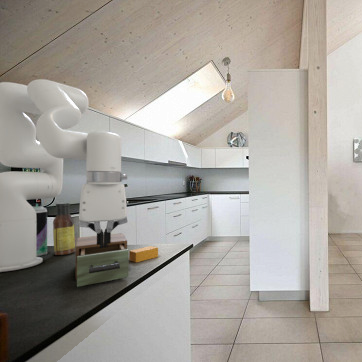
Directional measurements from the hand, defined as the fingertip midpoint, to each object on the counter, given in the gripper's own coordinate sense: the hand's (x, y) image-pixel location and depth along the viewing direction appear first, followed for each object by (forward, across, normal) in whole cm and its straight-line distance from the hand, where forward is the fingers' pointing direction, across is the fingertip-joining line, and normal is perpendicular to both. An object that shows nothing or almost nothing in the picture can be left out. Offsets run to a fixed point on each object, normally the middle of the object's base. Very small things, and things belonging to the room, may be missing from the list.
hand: (103, 246), depth 69 cm
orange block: (+11, -13, -22) cm, 28 cm away
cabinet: (+11, 0, -18) cm, 21 cm away
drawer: (+10, 0, -6) cm, 12 cm away
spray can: (+12, +19, -53) cm, 57 cm away
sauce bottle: (+12, +11, -48) cm, 51 cm away
